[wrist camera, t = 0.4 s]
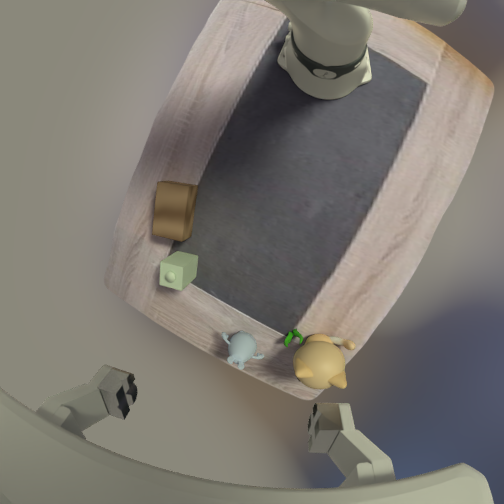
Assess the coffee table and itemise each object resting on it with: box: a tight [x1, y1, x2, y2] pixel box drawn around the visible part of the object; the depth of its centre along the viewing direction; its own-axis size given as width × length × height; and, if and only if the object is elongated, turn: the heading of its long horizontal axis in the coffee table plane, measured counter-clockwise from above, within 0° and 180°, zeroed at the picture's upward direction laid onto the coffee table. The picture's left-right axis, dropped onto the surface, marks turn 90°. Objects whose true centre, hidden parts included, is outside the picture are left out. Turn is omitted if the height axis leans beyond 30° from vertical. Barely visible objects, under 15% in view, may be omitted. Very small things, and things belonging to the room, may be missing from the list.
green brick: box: [160, 251, 198, 291], centre depth 57 cm, size 5×5×8 cm
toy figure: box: [222, 331, 264, 370], centre depth 57 cm, size 11×6×12 cm, turn 60°
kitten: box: [284, 329, 356, 389], centre depth 53 cm, size 15×10×15 cm
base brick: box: [152, 181, 198, 242], centre depth 56 cm, size 11×7×5 cm, turn 170°
